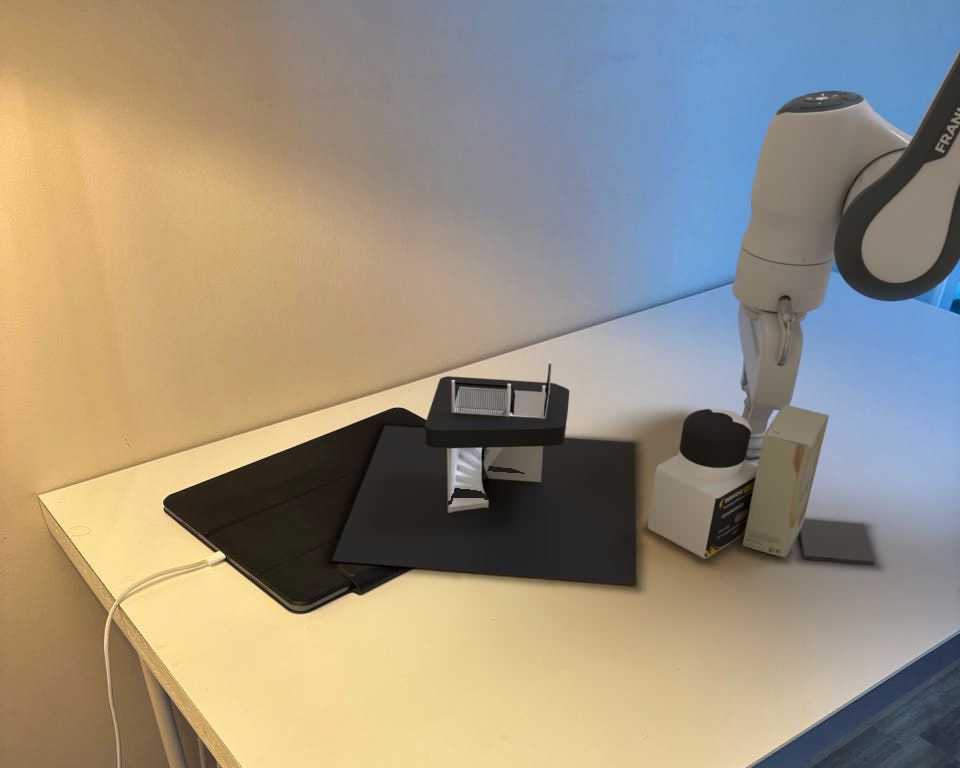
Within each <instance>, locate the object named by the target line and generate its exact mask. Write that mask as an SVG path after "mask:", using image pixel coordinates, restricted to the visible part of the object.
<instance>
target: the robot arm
mask: <svg viewBox="0 0 960 768" xmlns="http://www.w3.org/2000/svg"><path fill="white" fill-rule="evenodd" d="M750 210H751V211H750V218H749V219H750V220H749V222H748V225H747V227H746V230H745V232H744V234H743V236H742V239H741V243H740V248H739V252H738V259H737V263H736V269H735V274H734V279H733V284H732V289H731V292H732V294H733V296H734V297H735V299H736V300H738V301H739V304H738V322H737V325H738V326H737V327H738V333H739V339H740V345H741V351H742V356H743V359H742V360H743V361H742V373H741V377H740V381H739V382H740V387H741V390H742V392H745V390H744V387H745V386H746V385H747V384H748V387H749V393H750V399H751V404H752V408H751V411H749V415H748V420H747V422H748V423H749V425H750V427H751V433H757V434H762V433H764V432H765V431H766V428H767V427H768V422H769V419H770V417H771V416H772V414H773V412H774V411H780V409H781V408H782V406H783V405H789V406H790V405H791V403H792V400H793V396H794V392H795V386H796V382H797V379H798V378H797V377H798V374H799V368H800V363H801V358H802V353H803V346H804V331H803V328H802V324H801V323H802V322H803V321H805V320H806V318H807V315H808V312H813V311H815V310H818V309H819V308H820V307H821V306H822V305H823V303H824V301H825V298H826V297H825V296H826V293H827V288H828V286H829V281H830V277H831V273H832V270H833V266H834V262H835V265H836V268H837V270H838V272H839V275H840V276H841V277H842V279H843V280H844V282H845V283H846V284H847V285H848V286H849V287H850V288H851V289H853V290H854V291H855V292H857V293H858V294H860V295H861V296H864V297H866V298H867V299H868V298H869V299H870V300H871V299H872V300H875V301H880V302H902V301H907V300H911V299H914V298H917V297H920V296H922V295H924V294H926V293H928V292H931V291H932V290H934V289H935V288H936V287H937V286H939V285H940V284H941V283H942V282H943V281H945V280H946V279H947V278H948V277H949V276H950V274H951V273H952V272H953V271H954V270H955V268H956V266H957V265H958V263H959V261H960V48H959V49H958V50H957V53H956V55H955V57H954V59H953V61H952V63H951V65H950V67H949V69H948V70H947V72H946V74H945V75H944V78H943V80H941V83H940V85H939V87H938V89H937V91H936V92H935V94H934V95H933V98H932V100H931V101H930V104H929V105H928V107H927V109H926V111H925V112H924V115H923V116H922V118H921V120H920V121H919V124H918V126H917V128H916V129H915V131H914V133H913V135H911V134H908V133H906V132H905V131H904V130H901V129H900V128H898V127H896V126H895V125H893V124H892V123H890V122H889V121H888V120H887V119H886V118H884V117H882V115H880V114H878V113H877V111H875V109H873V107H872V106H871V105H870V104H869V103H868V100H866V98H865V97H864V96H863V95H861V94H859V93H856V92H853V91H843V90H826V91H825V90H824V91H816V92H810V93H805V94H804V95H800V96H797V97H794V98H792V99H791V100H789V101H787V102H786V103H785V104H783V105H782V106H781V108H779V109H778V110H777V111H776V113H775V114H774V115H773V116H772V118H771V121H770V122H769V125H768V127H767V129H766V133H765V135H764V138H763V142H762V145H761V149H760V152H759V157H758V159H757V164H756V168H755V173H754V177H753V181H752V187H751V192H750Z"/></svg>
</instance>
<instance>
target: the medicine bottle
mask: <svg viewBox="0 0 960 768" xmlns="http://www.w3.org/2000/svg"><path fill="white" fill-rule="evenodd" d="M681 429H682V430H681V436H680V441H679V448H678V454H677V455H675V456H673V457H671V458H669V459H667V460H665V461H663V462H662V463H659V464H658V465H657V466H656V468H655V474H654V481H653V487H652V495H651V501H650V507H649V514H648V515H649V516H648V522H647V528H648V530H650V531H651V532H654V533H655V534H657V535H659V536H661V537H662V538H664V539H666V540H668V541H670V542H672V543H674V544H675V545H678V546H679V547H681V548H682V549H685V550H687V551H688V552H690V553H692V554H694V555H696V556H698V557H700V558H702V559H707V558H709V557H711V556H713V555H715V554H716V553H717V552H720V550H722V549H724V548H725V547H727V546H728V545H730V544H731V543H733V542H734V541H737V540H738V539H739V538H741V537H742V536H744V534H745V529H746V524H747V519H748V514H749V509H750V504H751V499H752V494H753V488H754V483H755V478H756V473H757V468H758V465H754V464H753V463H750V462H748V461H746V460H747V458H746V454H747V450H748V445H749V440H750V436H751V427H750V425H749V423H748V422H747V420H745V419H744V418H743V417H742V415H740V414H738V413H736V412H733V411H729V410H727V409H723V408H703V409H698V410H696V411H694V412H691V413H690V414H689V415H687V416H686V417H685V418H684V420H683V422H682V428H681Z"/></svg>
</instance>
